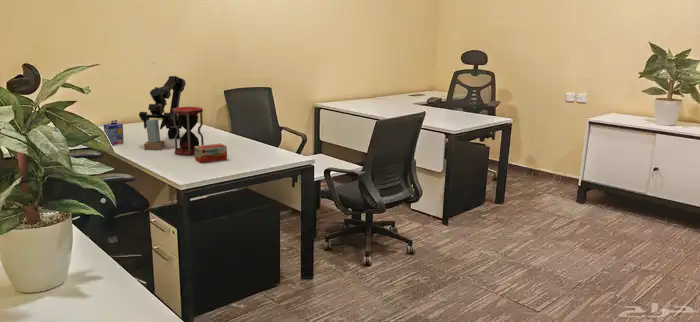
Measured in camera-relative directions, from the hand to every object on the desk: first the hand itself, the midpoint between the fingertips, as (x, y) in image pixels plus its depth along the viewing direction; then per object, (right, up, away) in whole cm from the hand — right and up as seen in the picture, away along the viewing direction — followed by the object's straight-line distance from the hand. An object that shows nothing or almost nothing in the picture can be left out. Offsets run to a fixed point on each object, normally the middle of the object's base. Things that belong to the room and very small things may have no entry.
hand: (152, 128), depth 314 cm
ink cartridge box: (-27, -9, +12) cm, 31 cm away
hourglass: (+22, -14, -4) cm, 27 cm away
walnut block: (0, -11, +4) cm, 12 cm away
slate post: (0, -7, +3) cm, 8 cm away
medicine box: (+38, -18, -19) cm, 47 cm away
